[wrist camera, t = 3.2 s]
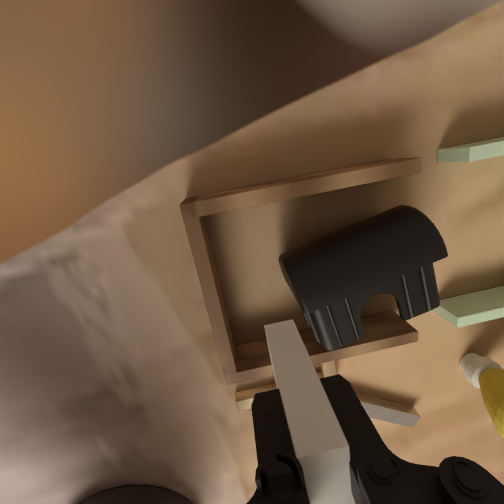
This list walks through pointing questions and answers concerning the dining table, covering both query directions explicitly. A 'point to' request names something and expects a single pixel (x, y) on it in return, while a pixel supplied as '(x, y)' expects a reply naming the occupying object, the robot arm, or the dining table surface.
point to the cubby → (257, 353)
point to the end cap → (365, 272)
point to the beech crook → (247, 396)
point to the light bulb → (487, 384)
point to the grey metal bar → (388, 410)
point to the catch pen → (485, 301)
